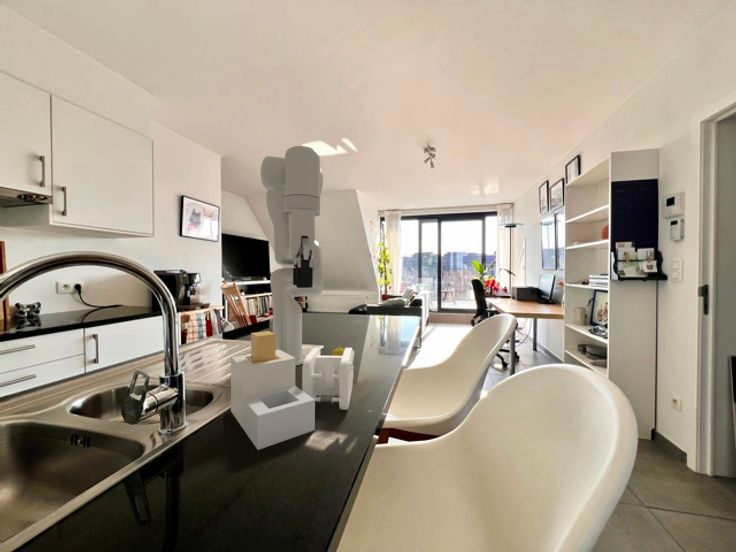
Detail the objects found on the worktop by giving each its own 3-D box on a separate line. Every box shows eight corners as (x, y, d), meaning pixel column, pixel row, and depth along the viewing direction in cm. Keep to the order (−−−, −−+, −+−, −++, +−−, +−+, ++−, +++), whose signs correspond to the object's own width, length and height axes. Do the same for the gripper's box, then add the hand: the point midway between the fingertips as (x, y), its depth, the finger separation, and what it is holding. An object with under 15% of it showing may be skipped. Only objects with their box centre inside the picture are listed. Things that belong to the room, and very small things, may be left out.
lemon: (349, 370, 95) (349, 345, 95) (346, 376, 90) (346, 349, 90) (332, 369, 96) (332, 344, 96) (328, 376, 90) (328, 349, 90)
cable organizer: (314, 388, 81) (314, 344, 81) (354, 388, 81) (354, 345, 81) (301, 415, 66) (301, 361, 66) (349, 416, 66) (350, 362, 66)
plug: (250, 369, 67) (250, 333, 67) (268, 366, 70) (269, 331, 70) (256, 374, 64) (256, 336, 64) (275, 370, 67) (275, 334, 67)
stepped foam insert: (231, 411, 67) (231, 357, 67) (279, 398, 74) (279, 349, 74) (257, 449, 53) (257, 381, 53) (314, 430, 60) (315, 369, 60)
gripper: (283, 213, 74) (282, 284, 74) (286, 197, 57) (286, 289, 58) (314, 215, 76) (314, 284, 76) (326, 200, 59) (326, 288, 60)
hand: (302, 286), depth 67 cm, fingers open, 9 cm apart
